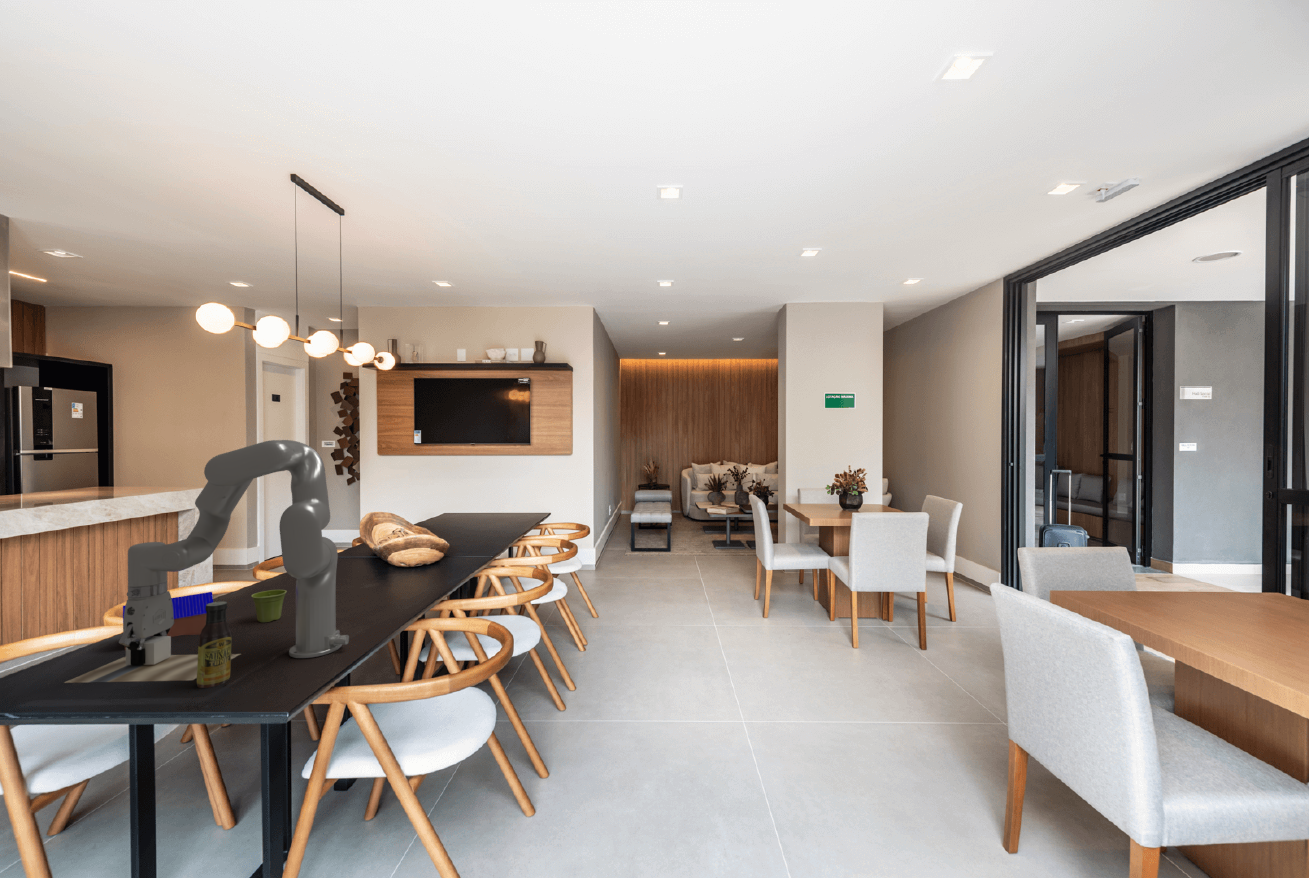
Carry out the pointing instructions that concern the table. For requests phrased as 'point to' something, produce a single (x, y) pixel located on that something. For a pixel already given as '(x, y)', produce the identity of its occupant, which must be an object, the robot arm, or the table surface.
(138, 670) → the board
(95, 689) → the table surface
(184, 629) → the house
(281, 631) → the table surface
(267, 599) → the plant pot
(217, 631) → the sauce bottle
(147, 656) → the light grey block
